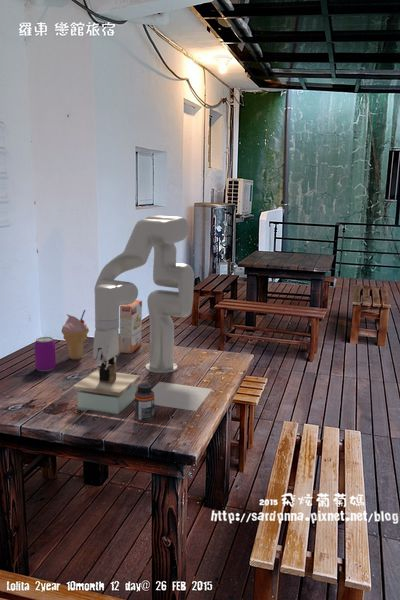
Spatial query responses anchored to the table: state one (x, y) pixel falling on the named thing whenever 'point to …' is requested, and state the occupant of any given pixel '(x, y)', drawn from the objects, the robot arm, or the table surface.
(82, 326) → the ice cream cone
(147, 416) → the supplement bottle
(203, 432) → the table surface
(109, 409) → the mint green open box
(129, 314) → the cracker box
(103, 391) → the cover
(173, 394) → the mat
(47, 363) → the beverage can
